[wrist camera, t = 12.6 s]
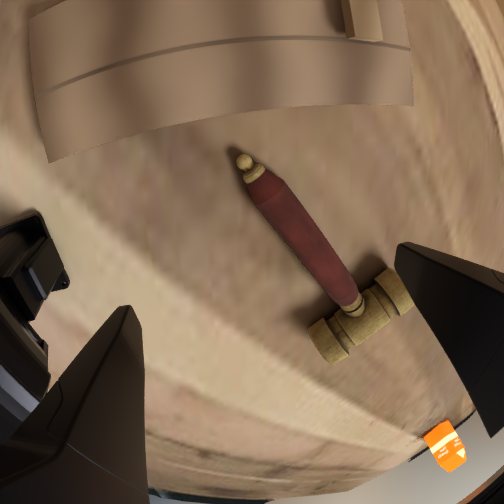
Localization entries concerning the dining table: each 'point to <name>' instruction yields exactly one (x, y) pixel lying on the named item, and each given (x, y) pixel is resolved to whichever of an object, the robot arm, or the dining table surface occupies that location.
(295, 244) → the gavel
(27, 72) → the dining table surface
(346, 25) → the block
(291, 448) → the dining table surface
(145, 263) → the dining table surface
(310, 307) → the dining table surface
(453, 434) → the orange juice
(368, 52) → the plank
